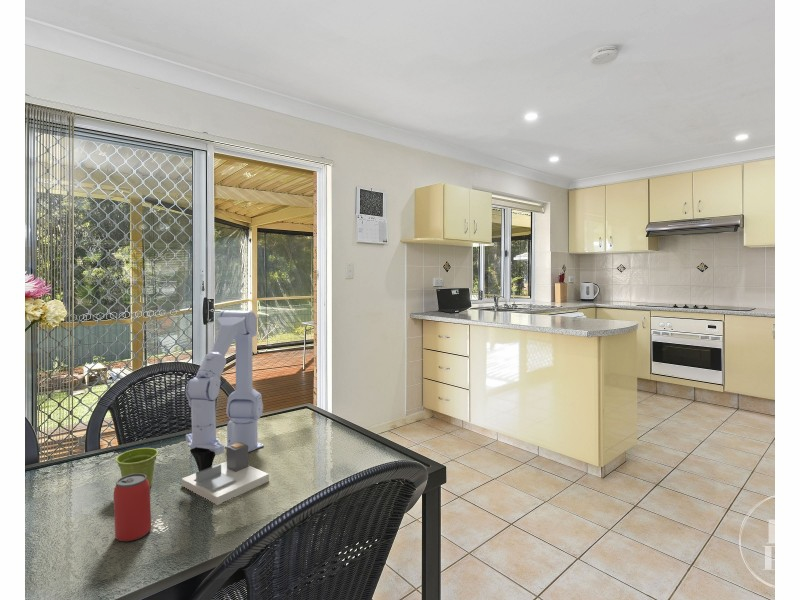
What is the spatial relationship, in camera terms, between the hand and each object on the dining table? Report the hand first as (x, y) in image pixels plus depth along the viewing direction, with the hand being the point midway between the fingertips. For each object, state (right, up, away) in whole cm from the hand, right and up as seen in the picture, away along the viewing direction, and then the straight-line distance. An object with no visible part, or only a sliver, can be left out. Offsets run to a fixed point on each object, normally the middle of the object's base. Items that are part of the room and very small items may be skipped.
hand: (205, 474), depth 116 cm
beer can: (-6, -5, -21) cm, 23 cm away
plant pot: (-16, -3, -2) cm, 17 cm away
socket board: (+5, -3, +1) cm, 6 cm away
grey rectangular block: (+6, 0, +6) cm, 9 cm away
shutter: (+4, -1, -3) cm, 5 cm away
